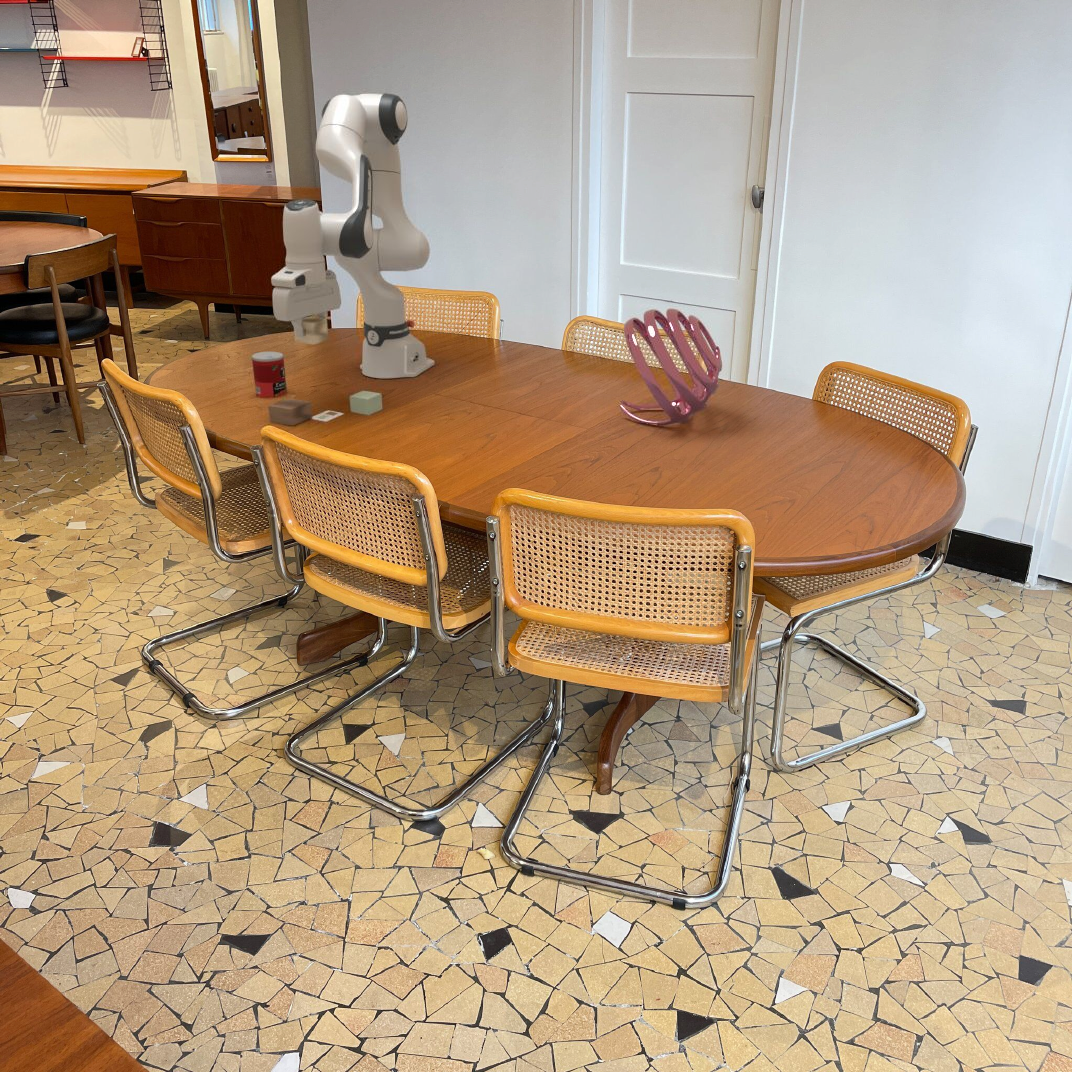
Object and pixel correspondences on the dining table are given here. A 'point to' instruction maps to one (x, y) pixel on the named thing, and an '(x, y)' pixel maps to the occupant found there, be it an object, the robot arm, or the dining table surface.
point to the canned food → (269, 374)
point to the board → (326, 416)
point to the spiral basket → (683, 393)
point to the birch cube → (313, 331)
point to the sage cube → (366, 402)
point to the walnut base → (290, 411)
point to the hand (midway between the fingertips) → (310, 333)
